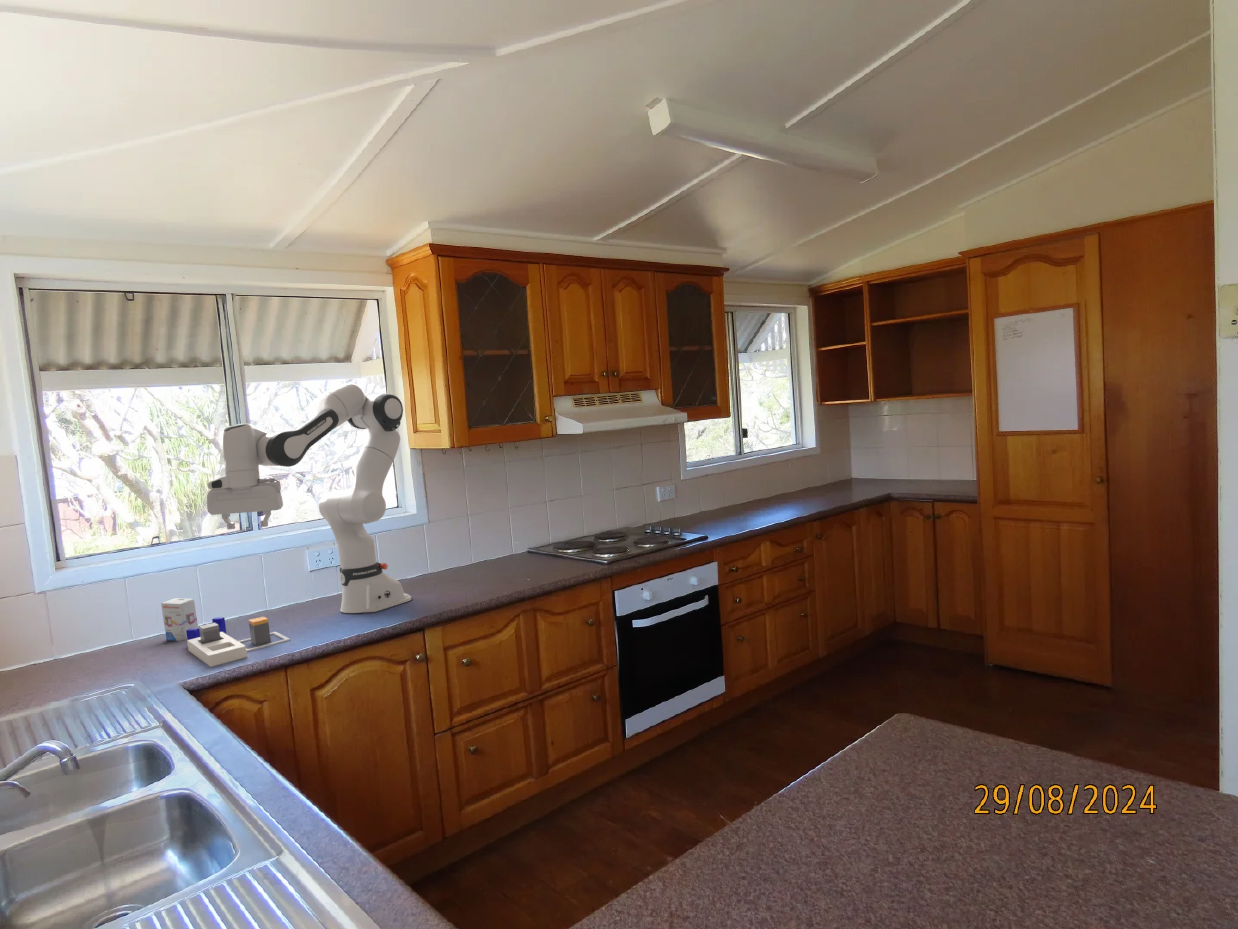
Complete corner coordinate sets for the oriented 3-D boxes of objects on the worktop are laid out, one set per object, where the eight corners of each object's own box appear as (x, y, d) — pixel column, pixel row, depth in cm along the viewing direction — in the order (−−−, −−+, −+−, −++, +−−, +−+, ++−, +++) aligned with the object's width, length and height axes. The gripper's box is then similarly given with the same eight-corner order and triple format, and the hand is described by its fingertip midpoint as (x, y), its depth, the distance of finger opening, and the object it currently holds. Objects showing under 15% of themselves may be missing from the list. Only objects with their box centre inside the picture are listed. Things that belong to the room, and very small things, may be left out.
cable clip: (213, 637, 231) (211, 617, 231) (226, 636, 231) (224, 617, 230) (184, 650, 220) (181, 630, 219) (197, 650, 219) (195, 630, 218)
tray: (276, 636, 226) (275, 631, 226) (290, 643, 217) (290, 638, 217) (232, 647, 218) (231, 642, 218) (245, 655, 209) (245, 650, 209)
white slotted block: (223, 645, 221) (221, 631, 221) (247, 660, 205) (245, 646, 205) (188, 654, 215) (187, 640, 215) (210, 670, 199) (209, 655, 199)
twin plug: (217, 646, 217) (214, 622, 216) (221, 649, 214) (218, 625, 213) (202, 650, 214) (198, 626, 213) (206, 653, 211) (202, 628, 210)
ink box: (165, 640, 231) (159, 602, 230) (179, 635, 236) (174, 597, 235) (186, 641, 228) (180, 602, 227) (200, 636, 233) (195, 598, 232)
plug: (266, 640, 221) (263, 616, 220) (271, 642, 218) (268, 618, 217) (251, 644, 218) (248, 620, 217) (256, 646, 215) (253, 622, 214)
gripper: (283, 476, 224) (288, 523, 225) (212, 481, 223) (217, 528, 224) (275, 478, 218) (280, 526, 219) (201, 483, 217) (207, 532, 218)
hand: (247, 527), depth 221 cm, fingers open, 8 cm apart
